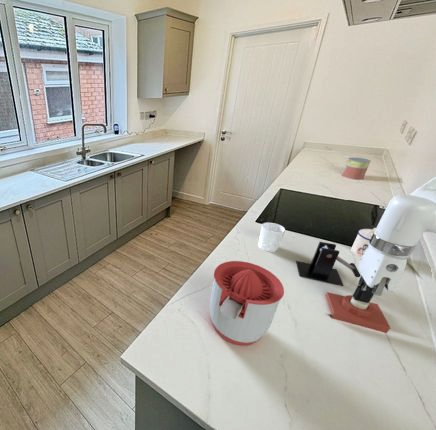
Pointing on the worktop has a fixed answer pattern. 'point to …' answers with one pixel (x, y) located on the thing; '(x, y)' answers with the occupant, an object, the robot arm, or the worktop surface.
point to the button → (359, 304)
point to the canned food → (356, 168)
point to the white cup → (270, 236)
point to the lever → (346, 264)
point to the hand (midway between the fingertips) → (360, 299)
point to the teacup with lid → (362, 241)
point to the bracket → (321, 265)
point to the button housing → (357, 313)
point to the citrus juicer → (243, 301)
